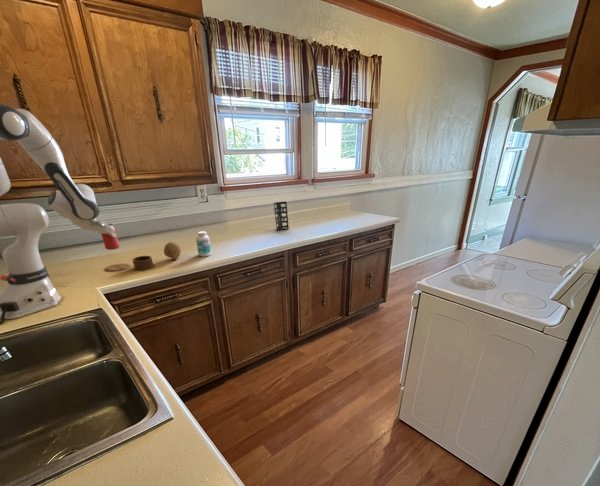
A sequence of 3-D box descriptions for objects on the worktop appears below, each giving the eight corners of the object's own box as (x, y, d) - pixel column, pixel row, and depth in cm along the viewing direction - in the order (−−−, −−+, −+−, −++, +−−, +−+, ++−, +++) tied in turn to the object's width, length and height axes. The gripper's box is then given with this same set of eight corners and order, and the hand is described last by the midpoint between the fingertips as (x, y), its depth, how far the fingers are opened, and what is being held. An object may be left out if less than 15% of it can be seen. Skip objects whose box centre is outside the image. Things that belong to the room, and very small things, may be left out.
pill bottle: (196, 255, 194) (192, 232, 187) (207, 252, 198) (204, 230, 192) (202, 257, 189) (199, 234, 183) (214, 254, 194) (210, 232, 187)
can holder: (143, 271, 169) (141, 262, 167) (130, 269, 173) (128, 259, 170) (157, 265, 177) (155, 256, 174) (144, 263, 180) (142, 255, 178)
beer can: (113, 250, 166) (107, 226, 160) (102, 249, 167) (95, 225, 162) (122, 246, 172) (116, 223, 166) (111, 246, 173) (105, 223, 167)
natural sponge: (170, 263, 181) (166, 245, 176) (162, 259, 186) (159, 242, 182) (185, 259, 187) (182, 242, 182) (177, 256, 192) (174, 239, 187)
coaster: (116, 272, 168) (115, 271, 168) (101, 269, 172) (101, 268, 172) (133, 266, 177) (133, 265, 177) (119, 263, 181) (118, 262, 181)
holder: (279, 230, 247) (277, 202, 239) (273, 229, 252) (270, 202, 244) (290, 228, 253) (288, 201, 245) (284, 227, 259) (282, 201, 251)
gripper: (101, 215, 151) (125, 232, 163) (76, 211, 160) (101, 227, 172) (94, 227, 150) (119, 243, 162) (70, 222, 159) (96, 238, 171)
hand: (110, 235), depth 167 cm, fingers closed on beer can, 6 cm apart
